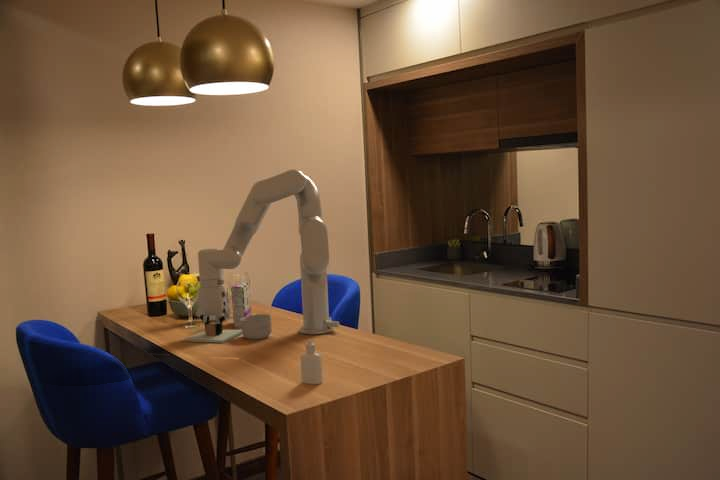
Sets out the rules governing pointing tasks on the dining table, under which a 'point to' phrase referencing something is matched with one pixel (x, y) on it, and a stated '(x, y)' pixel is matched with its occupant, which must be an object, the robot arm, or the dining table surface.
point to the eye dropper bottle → (311, 365)
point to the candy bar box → (240, 302)
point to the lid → (213, 334)
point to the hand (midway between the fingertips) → (214, 333)
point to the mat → (214, 342)
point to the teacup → (256, 326)
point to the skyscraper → (213, 317)
